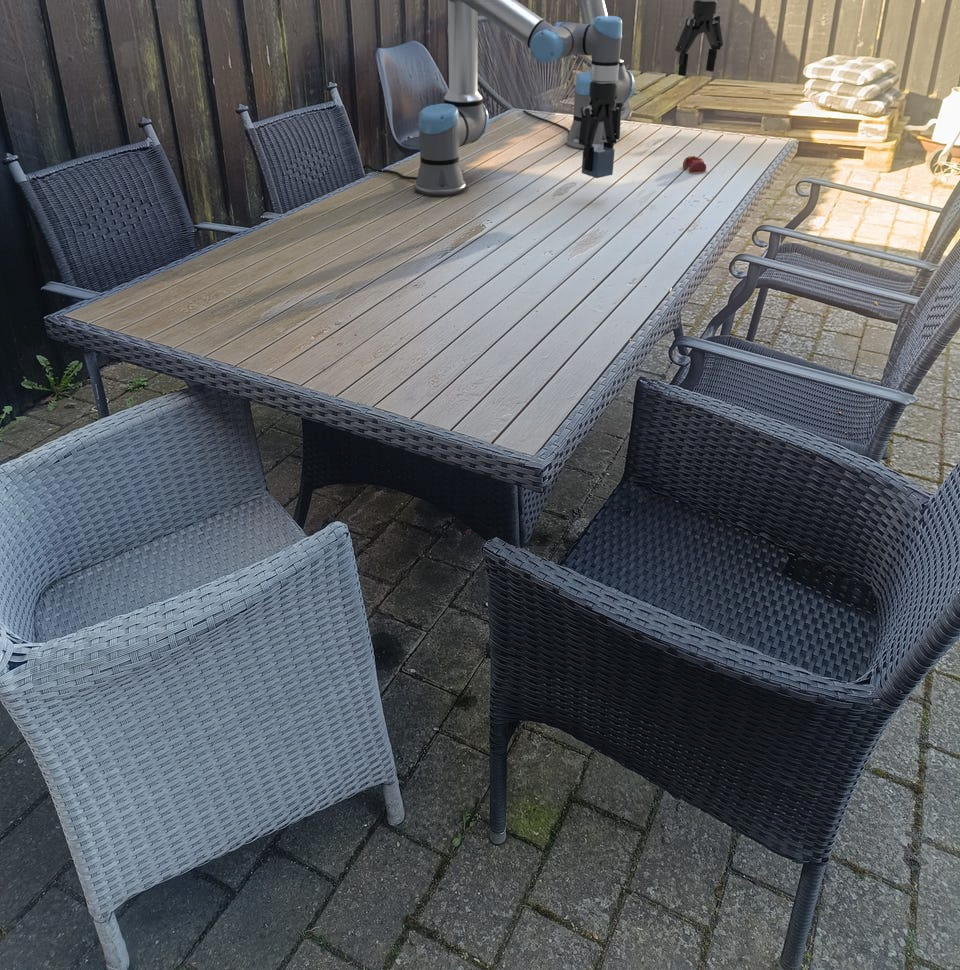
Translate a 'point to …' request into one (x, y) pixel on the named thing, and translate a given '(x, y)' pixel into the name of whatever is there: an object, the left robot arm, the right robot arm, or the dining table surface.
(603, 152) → the cube
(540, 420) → the dining table surface
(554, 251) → the dining table surface
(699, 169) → the dark red rounded lump
